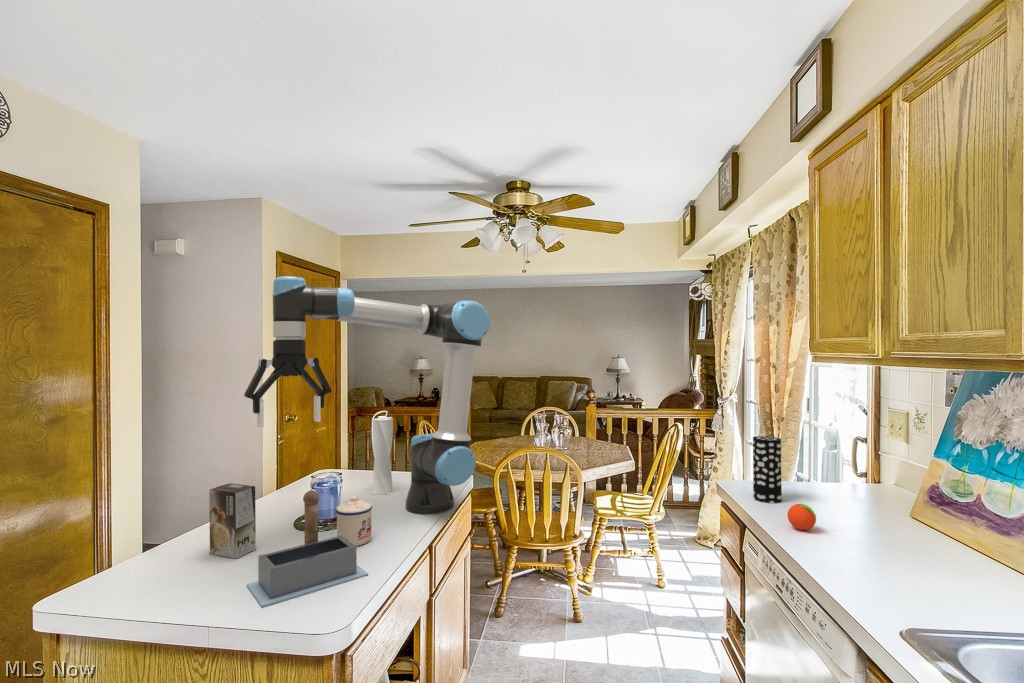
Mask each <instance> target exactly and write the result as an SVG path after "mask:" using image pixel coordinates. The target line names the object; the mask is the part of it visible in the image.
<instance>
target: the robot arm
mask: <svg viewBox="0 0 1024 683" xmlns="http://www.w3.org/2000/svg"><path fill="white" fill-rule="evenodd" d="M272 288H273V290H272V321H273V323H272V325H273V326H272V328H273V329H272V330H273V333H272V334H273V335H272V336H273V338H275V340H273V341H272V359H267V358H260V359H259V360H258V366H257V368H256V371H255V373H254V374H253V377H252V379H251V380H250V382H249V384H248V386H247V388H246V390H245V392H244V394H243V395H244V396H243V397H244V398H246V399H251V400H252V412H253V414H255V415H256V417H257V418H256V419H257V421H256V422H257V426H256V427H258V428H260V429H261V428H264V426H265V416H264V415H265V413H264V408H265V407H264V406H265V404H264V399H261V398H262V397H263V396H264V395H265V394H266V392H268V391H269V389H270V388H271V387H272V386H273V384H274V383H275V382H276V381H277V380H278V379H279V378H280V377H290V376H292V377H298V376H299V377H300V378H302V380H304V381H305V383H307V385H308V386H309V387H310V388H311V389H312V391H313V392H315V394H316V395H313V421H314V422H317V423H319V422H321V421H322V420H321V419H322V418H321V409H324V407H325V396H326V395H327V394H331V392H332V388H331V386H330V384H329V382H328V380H327V378H326V376H325V374H324V373H323V370H322V369H321V365H320V360H319V358H318V357H311V358H307V356H306V354H307V352H306V351H307V347H306V346H307V345H306V344H307V343H306V341H305V340H306V339H304V338H306V337H307V335H306V334H307V332H306V317H308V318H310V319H314V320H328V321H336V322H337V321H338V322H345V323H353V324H362V325H370V326H377V327H378V326H379V327H384V328H385V327H387V328H396V329H403V330H411V331H416V332H417V333H418V334H419V335H423V336H424V335H426V336H431V337H435V338H440V339H442V342H441V344H442V346H443V347H444V348H445V350H446V353H445V359H444V360H445V362H444V370H443V371H444V372H443V380H442V381H443V382H442V390H441V398H440V409H439V417H438V426H437V430H436V432H434V433H425V434H424V433H423V434H417V435H414V436H412V438H411V442H410V465H411V466H410V471H411V472H410V481H411V482H410V486H409V489H408V492H407V496H406V499H405V509H406V510H407V511H408V512H410V513H413V514H419V515H420V514H422V515H431V514H440V513H443V512H447V511H449V510H452V509H453V508H454V507H455V498H454V494H453V492H452V488H451V487H457V486H461V485H462V484H465V483H466V482H467V480H470V478H471V477H472V475H473V474H474V471H475V469H476V461H477V460H476V457H475V454H474V452H473V451H472V450H471V445H472V437H471V436H470V435H469V433H468V427H469V426H468V424H469V414H470V404H471V395H472V386H473V377H474V367H475V366H474V364H475V358H476V352H477V351H479V350H480V349H481V347H482V340H483V338H484V337H485V336H486V335H487V334H488V332H489V329H490V328H491V327H490V325H491V319H490V316H489V312H488V310H486V307H484V306H483V305H482V304H481V303H479V302H477V301H475V300H460V301H456V302H455V301H454V302H449V303H442V304H427V303H423V304H421V305H420V306H418V305H411V304H405V303H398V302H390V301H384V300H379V299H377V300H376V299H373V298H372V299H371V298H370V299H369V298H364V297H357V296H355V293H354V292H353V291H352V289H350V288H343V287H328V286H327V287H324V286H310V285H307V284H306V279H305V278H303V277H299V276H278V277H276V278H275V279H274V280H273V287H272ZM307 365H308V366H309V367H311V369H312V371H313V373H314V376H316V378H317V381H318V383H319V384H320V385H319V384H318V383H317V382H316V381H315V380H314V379H313V378H312V376H310V375H309V372H308V371H307V370H306V369H305V368H306V366H307ZM270 366H272V367H273V369H274V370H273V371H272V372H271V373H270V375H269V376H268V377H267V378H266V380H265V381H264V382H263V383H262V385H260V387H259V388H258V385H259V384H260V382H261V381H262V378H263V376H264V374H265V372H266V370H267V369H268V368H269V367H270ZM320 386H321V387H320ZM257 388H258V389H257Z"/></svg>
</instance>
